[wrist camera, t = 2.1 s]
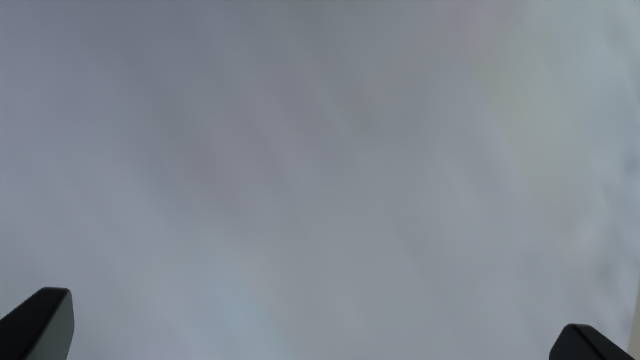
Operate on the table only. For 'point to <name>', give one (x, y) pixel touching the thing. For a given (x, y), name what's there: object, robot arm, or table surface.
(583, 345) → the robot arm
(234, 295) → the table surface
